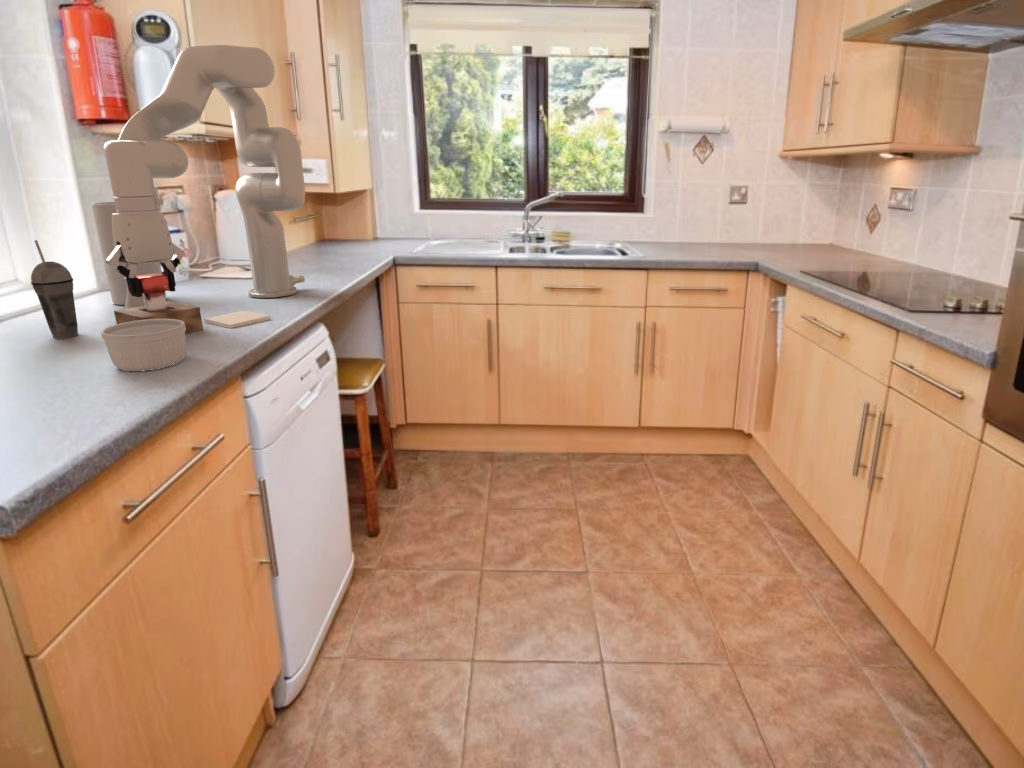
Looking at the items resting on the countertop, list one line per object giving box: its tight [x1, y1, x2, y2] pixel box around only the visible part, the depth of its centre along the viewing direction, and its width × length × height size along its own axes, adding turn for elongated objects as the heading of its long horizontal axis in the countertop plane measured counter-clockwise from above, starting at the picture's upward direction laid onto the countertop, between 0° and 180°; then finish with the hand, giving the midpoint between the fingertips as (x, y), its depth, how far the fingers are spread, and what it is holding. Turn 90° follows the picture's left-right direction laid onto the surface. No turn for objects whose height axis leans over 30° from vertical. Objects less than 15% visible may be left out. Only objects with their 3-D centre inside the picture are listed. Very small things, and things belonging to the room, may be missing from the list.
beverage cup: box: [30, 239, 79, 339], centre depth 133 cm, size 7×7×20 cm
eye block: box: [113, 300, 204, 335], centre depth 138 cm, size 12×12×5 cm
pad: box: [204, 310, 271, 329], centre depth 147 cm, size 10×10×1 cm
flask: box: [124, 277, 145, 309], centre depth 147 cm, size 7×7×10 cm
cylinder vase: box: [90, 201, 167, 306], centre depth 165 cm, size 12×12×25 cm
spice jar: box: [136, 274, 170, 313], centre depth 137 cm, size 6×6×12 cm
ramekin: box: [100, 319, 187, 372], centre depth 116 cm, size 13×13×7 cm
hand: (153, 292), depth 136 cm, fingers closed on spice jar, 6 cm apart
